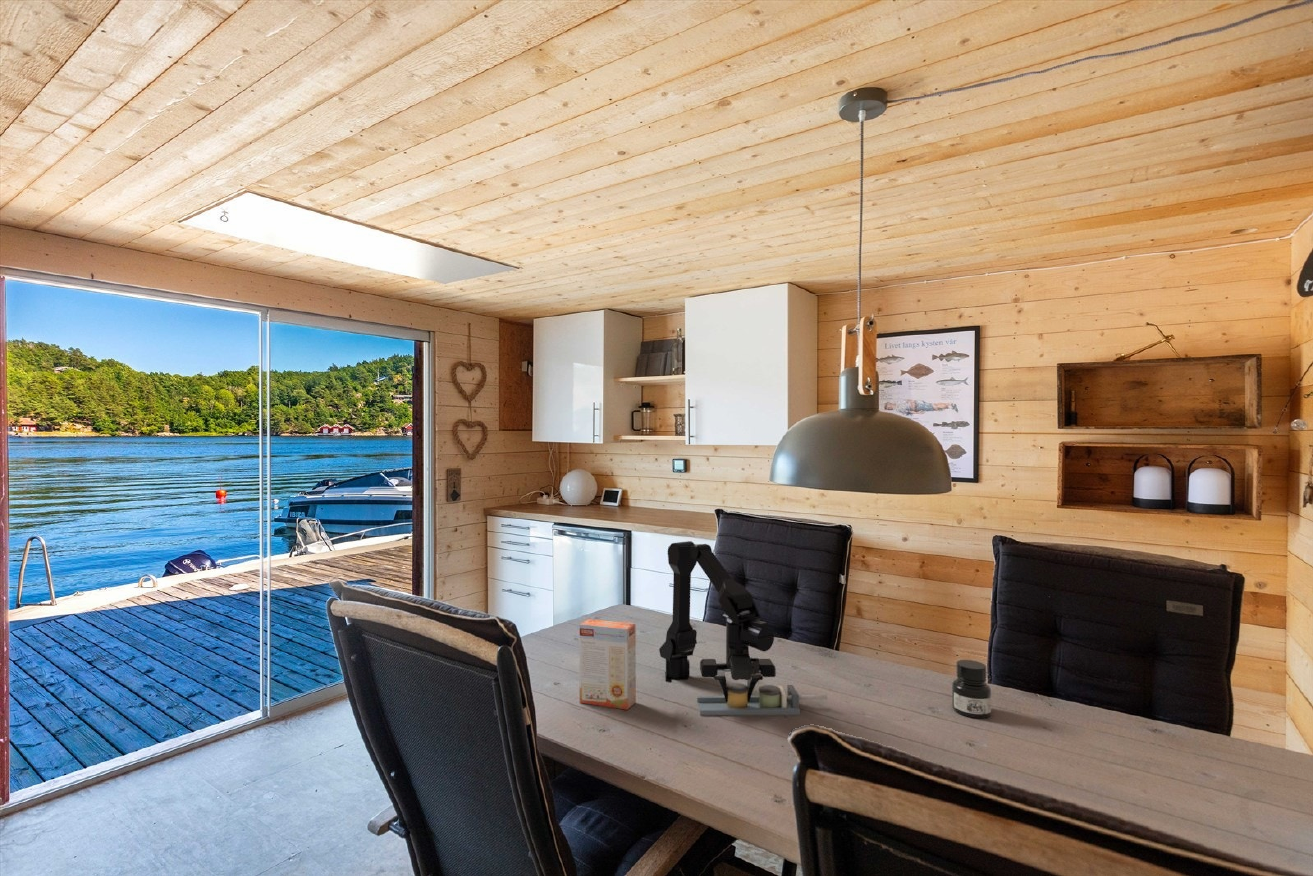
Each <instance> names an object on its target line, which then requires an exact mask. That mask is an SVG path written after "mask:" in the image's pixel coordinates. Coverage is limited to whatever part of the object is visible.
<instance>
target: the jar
mask: <svg viewBox="0 0 1313 876" xmlns="http://www.w3.org/2000/svg"><path fill="white" fill-rule="evenodd" d="M726 686H727V694H728V702H727V706H728V707H729V708H747V706H748V687H747V684H743V683H739V682H734V683H729V684H726Z"/></svg>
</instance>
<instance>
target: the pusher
mask: <svg viewBox="0 0 1313 876" xmlns="http://www.w3.org/2000/svg"><path fill="white" fill-rule="evenodd" d="M777 687H778V688H780V707H781V708H787V700H792V695H787V693H786V692H785V689H784V688H783V686H782V685H777ZM800 700H803V701H805V700H809V701H810V700H813V701H815V700H828V696H827V694H826V695H825V694H824V695H823V694H822V695H821V694H820V695H819V694H818V695H817V694H816V695H812V694H811V695H810V694H809V695H807V694H805V695H803V694H799V701H800Z"/></svg>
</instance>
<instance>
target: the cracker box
mask: <svg viewBox="0 0 1313 876" xmlns="http://www.w3.org/2000/svg"><path fill="white" fill-rule="evenodd" d="M636 630H637V629H636V623H632V622H623V621H614V620H613V621H611V620H601V619H593V618H589V619H586V620H585V621H583V622H581V623H580V624H579V676H578V677H579V703H582V704H586V705H593V706H594V705H595V706H600V707H606V708H613V709H619V710H620V709H621V710H626V711H627V710H629V709H630V708H631V707H632V706H633V705H634V704H635V703H636V701H637V700H636V699H637V696H636V694H637V693H636V692H637V690H636V688H637V684H636V681H637V679H636V677H637V674H636V672H637V671H636V670H637V668H636V667H637V665H636V664H637V663H636V660H637V659H636V657H637V656H636V650H637V647H636V643H637V642H636V640H637V639H636Z"/></svg>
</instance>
